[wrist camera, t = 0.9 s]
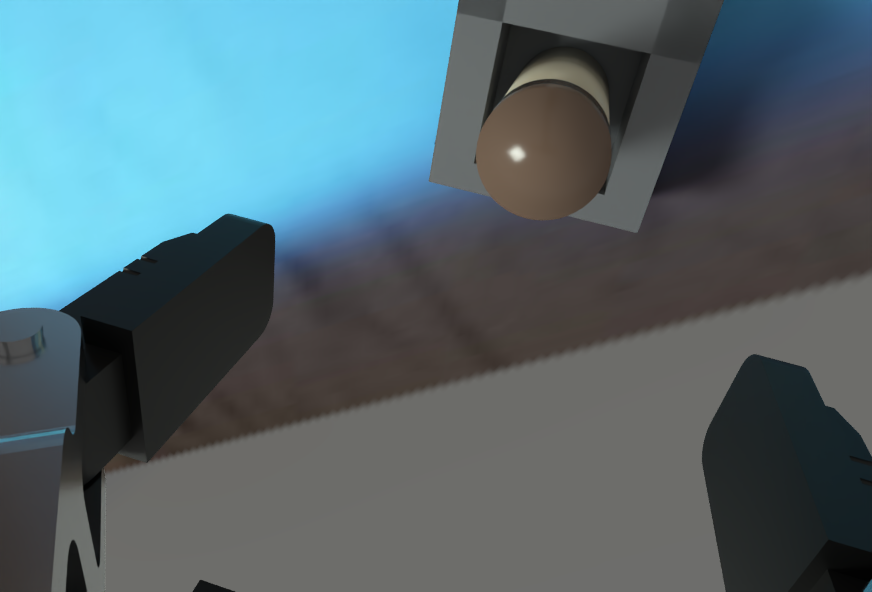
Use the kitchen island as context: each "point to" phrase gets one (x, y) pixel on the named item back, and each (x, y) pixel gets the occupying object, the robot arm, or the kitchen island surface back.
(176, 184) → the kitchen island surface
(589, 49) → the fuse block
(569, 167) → the cylinder
